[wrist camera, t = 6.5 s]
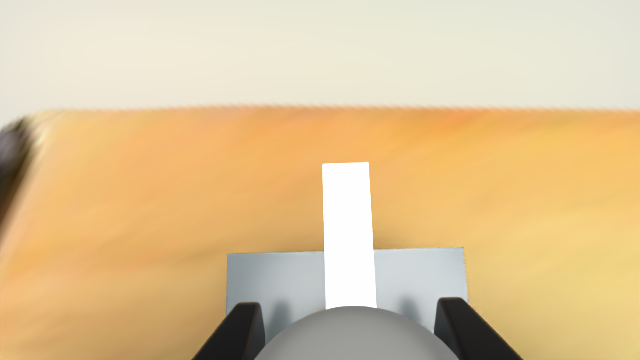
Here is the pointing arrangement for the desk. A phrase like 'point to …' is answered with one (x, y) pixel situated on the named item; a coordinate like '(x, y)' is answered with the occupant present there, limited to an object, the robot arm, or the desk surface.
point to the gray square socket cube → (310, 283)
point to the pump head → (352, 290)
